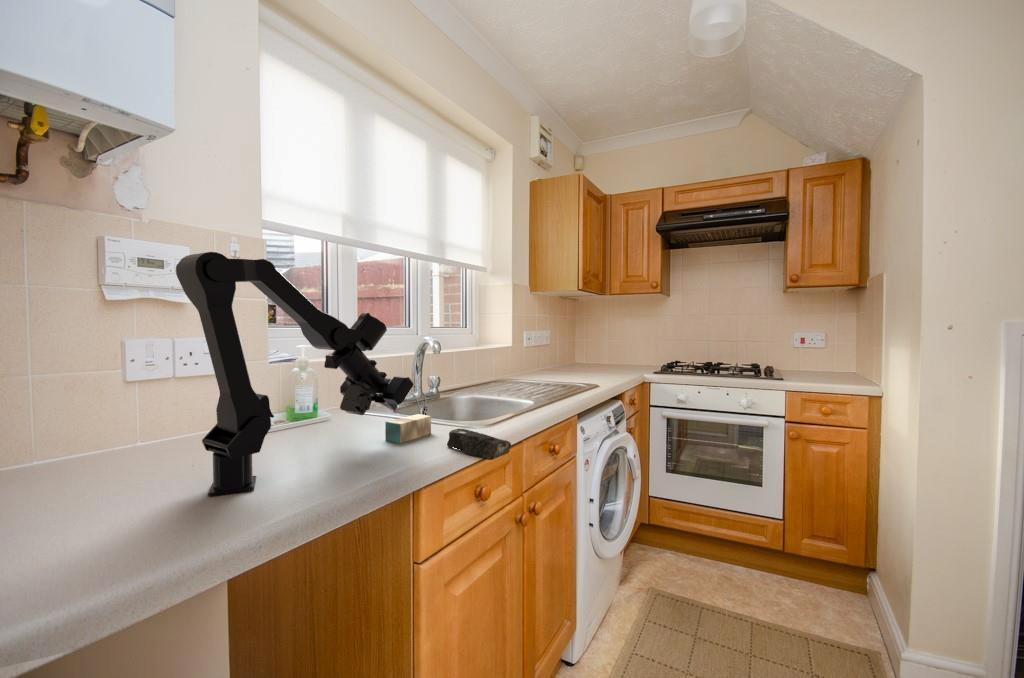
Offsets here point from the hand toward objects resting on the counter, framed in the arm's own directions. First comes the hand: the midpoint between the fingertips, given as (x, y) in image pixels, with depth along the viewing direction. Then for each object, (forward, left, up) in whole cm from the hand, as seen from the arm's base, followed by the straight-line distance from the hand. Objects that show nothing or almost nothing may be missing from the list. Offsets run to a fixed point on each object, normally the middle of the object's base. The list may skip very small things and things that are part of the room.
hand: (395, 408), depth 108 cm
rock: (-16, -15, -8) cm, 23 cm away
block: (-1, +1, -5) cm, 5 cm away
